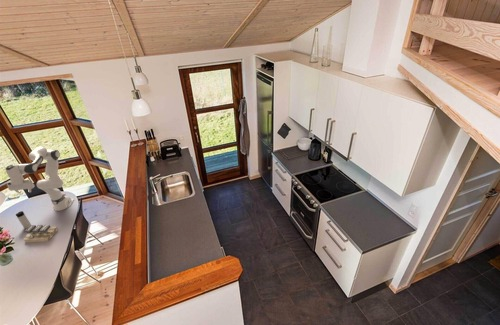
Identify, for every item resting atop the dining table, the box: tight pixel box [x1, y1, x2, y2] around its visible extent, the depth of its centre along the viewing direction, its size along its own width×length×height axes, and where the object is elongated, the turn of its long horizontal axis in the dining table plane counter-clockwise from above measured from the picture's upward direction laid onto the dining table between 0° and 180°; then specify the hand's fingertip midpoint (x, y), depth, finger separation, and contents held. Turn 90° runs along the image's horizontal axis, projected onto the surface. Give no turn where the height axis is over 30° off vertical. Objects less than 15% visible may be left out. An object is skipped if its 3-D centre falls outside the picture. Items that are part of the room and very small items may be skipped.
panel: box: [23, 226, 58, 243], centre depth 250 cm, size 16×22×4 cm
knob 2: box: [33, 224, 44, 234], centre depth 248 cm, size 8×5×7 cm, turn 3°
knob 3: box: [40, 224, 52, 233], centre depth 248 cm, size 8×5×7 cm, turn 3°
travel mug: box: [15, 210, 32, 230], centre depth 258 cm, size 6×7×20 cm
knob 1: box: [24, 224, 37, 234], centre depth 247 cm, size 8×5×7 cm, turn 3°
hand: (24, 192), depth 240 cm, fingers open, 8 cm apart
